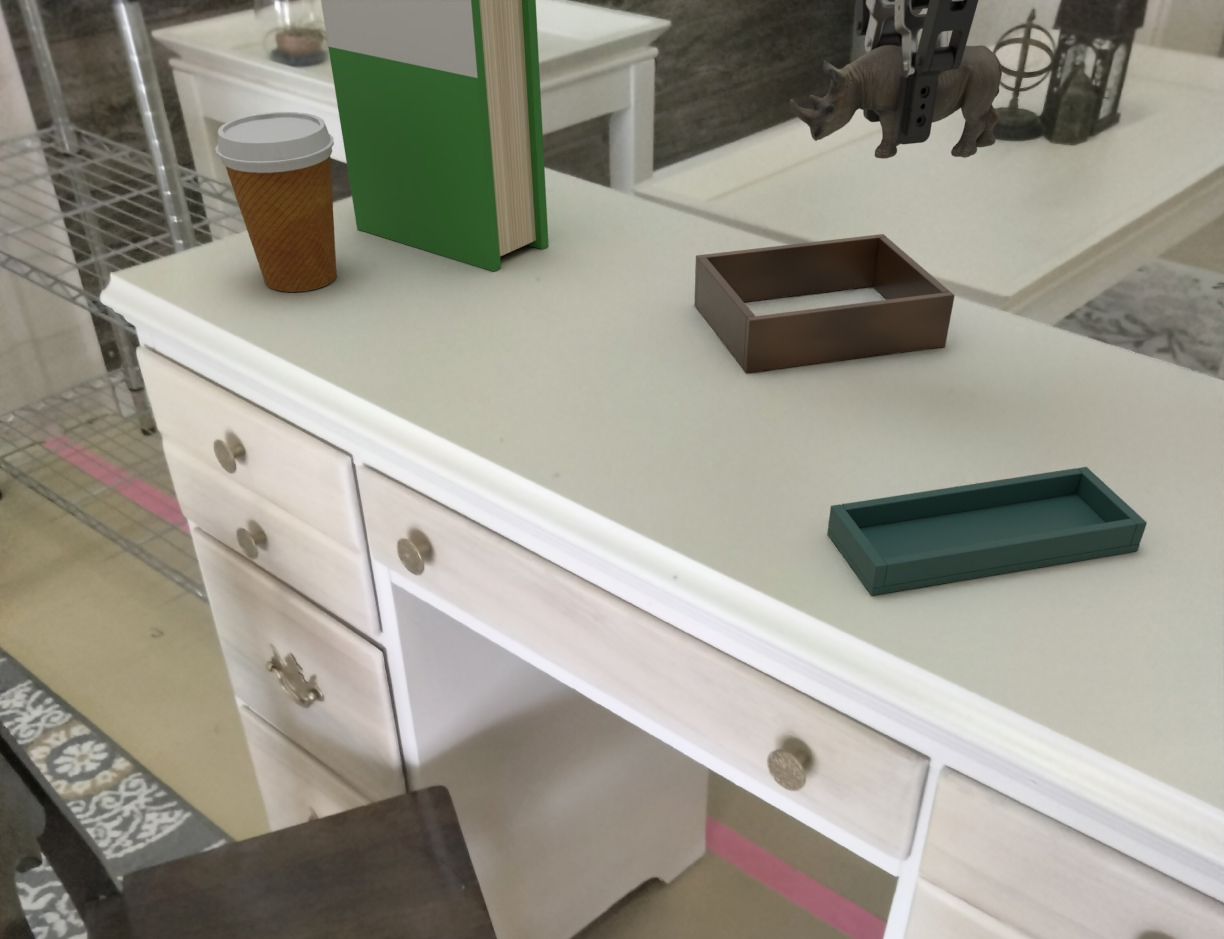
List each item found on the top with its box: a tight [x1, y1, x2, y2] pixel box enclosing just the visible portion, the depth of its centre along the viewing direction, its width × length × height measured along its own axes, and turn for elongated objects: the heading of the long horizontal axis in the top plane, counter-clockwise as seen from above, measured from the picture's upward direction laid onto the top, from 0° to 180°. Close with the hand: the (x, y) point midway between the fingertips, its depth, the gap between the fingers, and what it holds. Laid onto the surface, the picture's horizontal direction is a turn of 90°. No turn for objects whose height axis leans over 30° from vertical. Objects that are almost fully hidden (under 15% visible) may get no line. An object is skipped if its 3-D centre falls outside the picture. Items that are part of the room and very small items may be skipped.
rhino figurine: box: [789, 44, 1003, 160], centre depth 77 cm, size 4×14×6 cm, turn 88°
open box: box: [693, 233, 955, 374], centre depth 96 cm, size 16×13×4 cm
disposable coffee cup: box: [215, 111, 338, 293], centre depth 102 cm, size 10×10×12 cm
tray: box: [827, 466, 1148, 596], centre depth 74 cm, size 17×7×2 cm, turn 104°
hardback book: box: [320, 0, 549, 272], centre depth 104 cm, size 18×7×24 cm, turn 51°
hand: (894, 128), depth 78 cm, fingers closed on rhino figurine, 4 cm apart
